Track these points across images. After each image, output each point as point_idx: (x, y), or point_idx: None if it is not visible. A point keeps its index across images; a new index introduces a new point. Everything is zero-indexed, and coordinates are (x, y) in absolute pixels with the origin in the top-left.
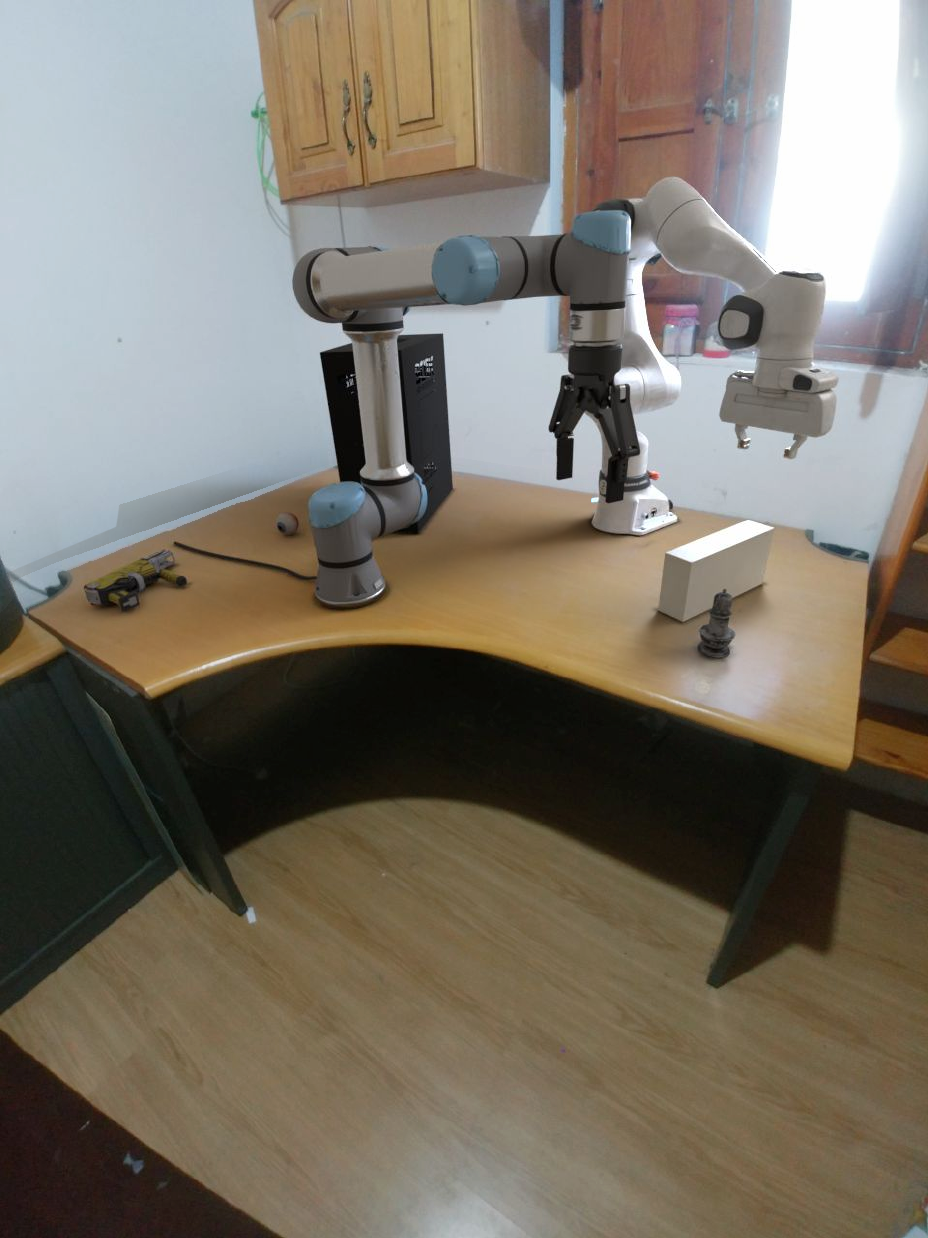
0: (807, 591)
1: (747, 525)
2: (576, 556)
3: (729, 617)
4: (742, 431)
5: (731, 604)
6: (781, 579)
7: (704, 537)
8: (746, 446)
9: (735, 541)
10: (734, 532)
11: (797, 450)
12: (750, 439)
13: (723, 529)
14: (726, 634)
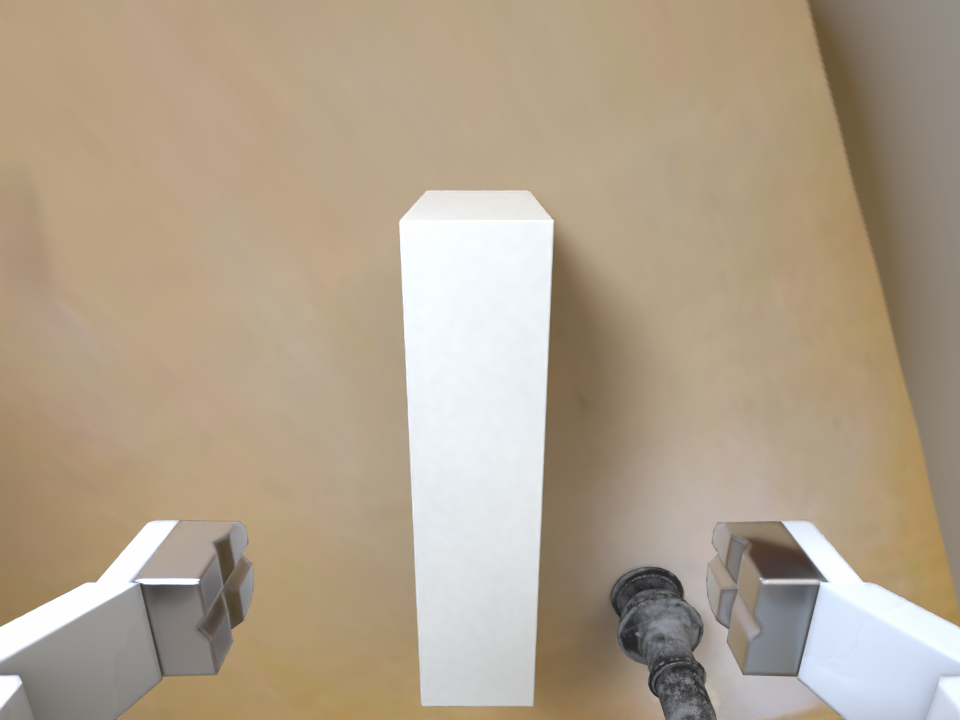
0: (667, 120)
1: (448, 292)
2: (10, 485)
3: (704, 678)
4: (44, 704)
5: (709, 699)
6: (555, 99)
7: (417, 529)
8: (232, 566)
9: (526, 481)
10: (463, 406)
11: (845, 565)
12: (202, 584)
13: (409, 411)
14: (691, 642)
